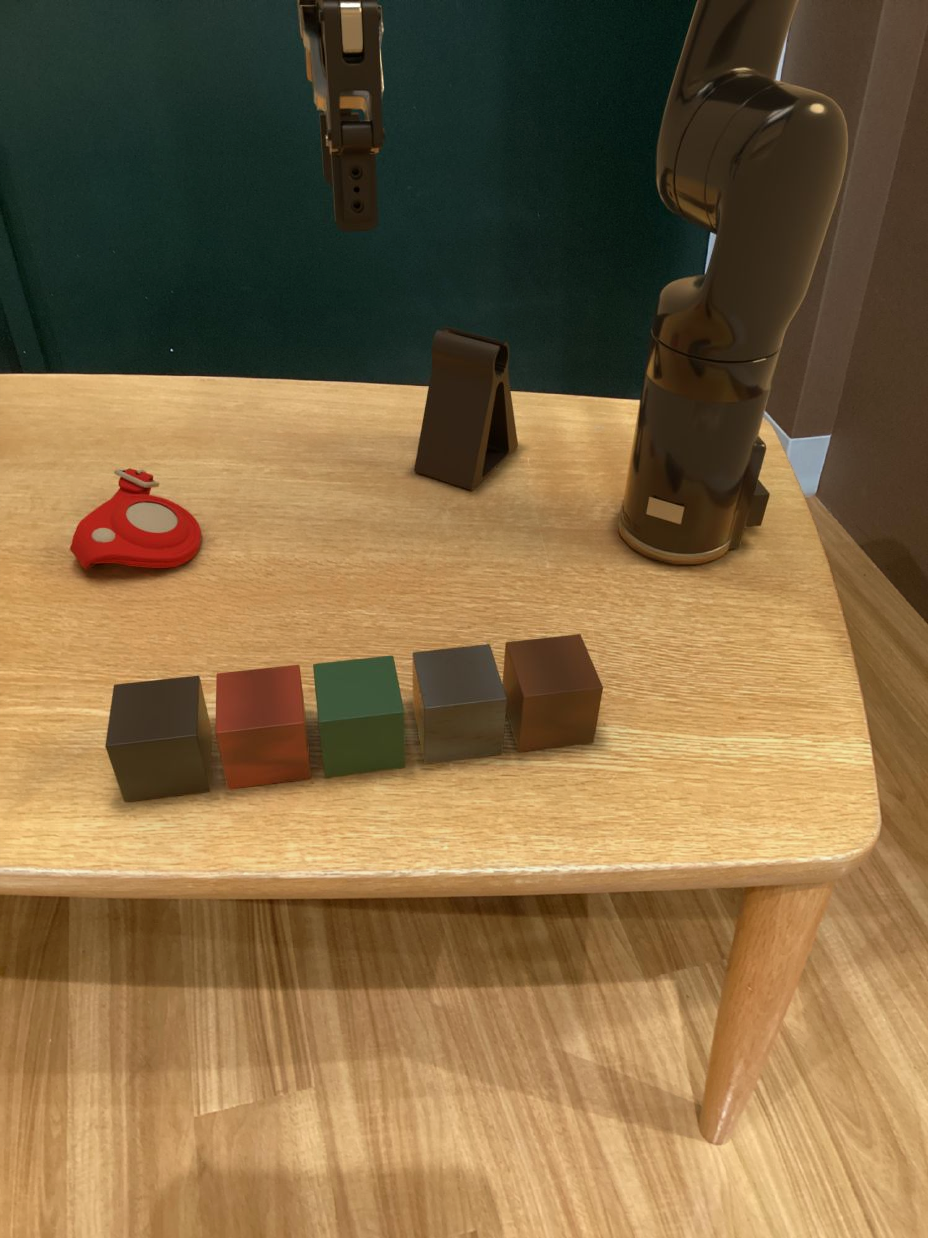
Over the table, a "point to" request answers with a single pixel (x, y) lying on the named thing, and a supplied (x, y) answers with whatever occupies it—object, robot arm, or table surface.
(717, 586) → the table surface
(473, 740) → the block line
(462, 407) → the phone stand
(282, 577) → the table surface
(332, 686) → the green block
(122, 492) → the tracker holder
